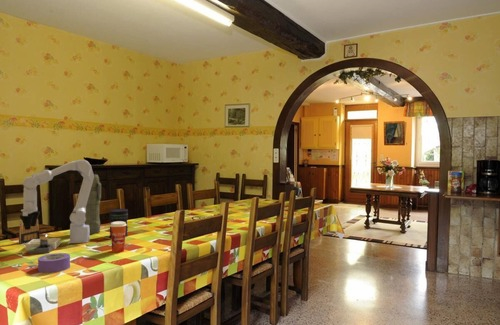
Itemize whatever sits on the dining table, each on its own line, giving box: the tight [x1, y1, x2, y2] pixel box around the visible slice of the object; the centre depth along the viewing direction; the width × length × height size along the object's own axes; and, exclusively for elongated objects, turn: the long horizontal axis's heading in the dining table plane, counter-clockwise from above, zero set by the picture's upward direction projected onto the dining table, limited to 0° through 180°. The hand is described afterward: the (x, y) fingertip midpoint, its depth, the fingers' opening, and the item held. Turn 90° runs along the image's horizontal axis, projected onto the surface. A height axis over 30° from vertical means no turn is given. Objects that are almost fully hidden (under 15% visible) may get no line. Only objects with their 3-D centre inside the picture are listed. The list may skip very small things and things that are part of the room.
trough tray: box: [25, 237, 62, 251], centre depth 181 cm, size 13×10×3 cm
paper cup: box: [109, 221, 128, 253], centre depth 177 cm, size 8×8×14 cm
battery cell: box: [40, 233, 49, 248], centre depth 173 cm, size 3×3×8 cm
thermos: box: [85, 173, 102, 235], centre depth 214 cm, size 9×12×35 cm
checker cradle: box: [27, 245, 53, 255], centre depth 173 cm, size 9×6×2 cm, turn 105°
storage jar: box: [109, 208, 129, 238], centre depth 208 cm, size 10×10×15 cm
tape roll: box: [37, 252, 71, 274], centre depth 150 cm, size 12×12×5 cm
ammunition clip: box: [18, 218, 41, 245], centre depth 192 cm, size 11×2×12 cm, turn 158°
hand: (30, 227), depth 180 cm, fingers open, 7 cm apart
